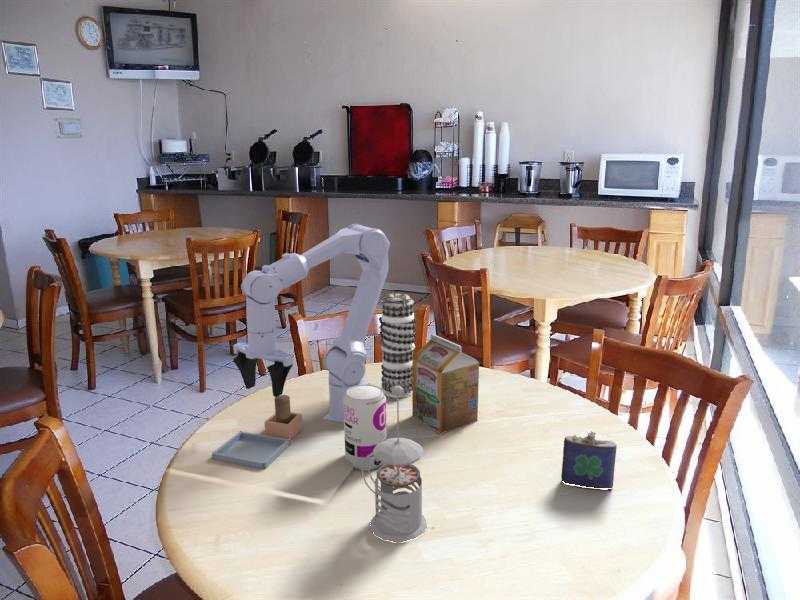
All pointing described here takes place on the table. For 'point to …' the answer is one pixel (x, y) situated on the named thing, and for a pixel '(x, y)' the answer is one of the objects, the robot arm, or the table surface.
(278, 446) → the tray
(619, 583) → the table surface
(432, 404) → the milk carton
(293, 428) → the hollow square block
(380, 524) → the french press
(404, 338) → the decorative candle
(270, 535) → the table surface
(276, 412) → the dowel
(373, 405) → the supplement can
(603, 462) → the flask
